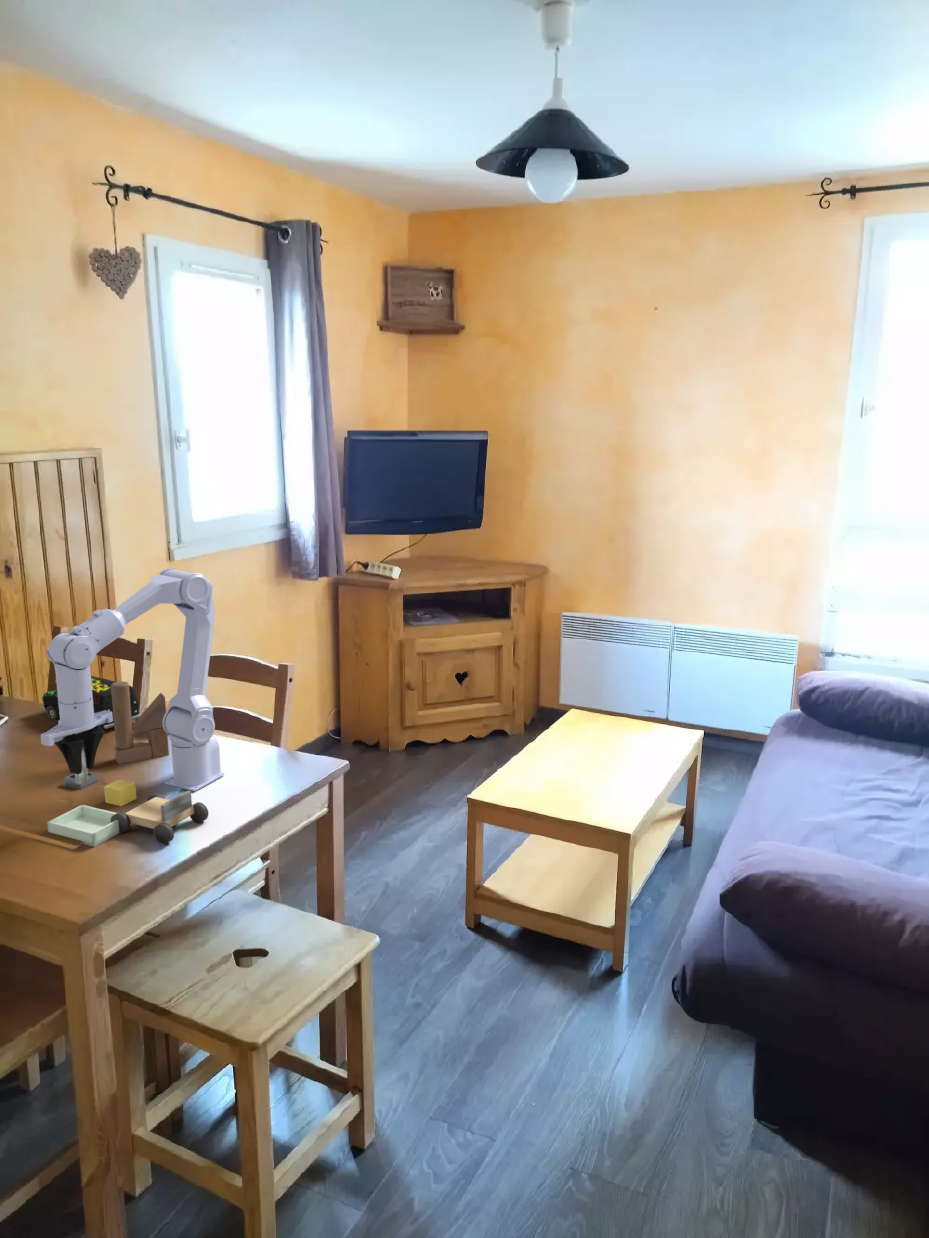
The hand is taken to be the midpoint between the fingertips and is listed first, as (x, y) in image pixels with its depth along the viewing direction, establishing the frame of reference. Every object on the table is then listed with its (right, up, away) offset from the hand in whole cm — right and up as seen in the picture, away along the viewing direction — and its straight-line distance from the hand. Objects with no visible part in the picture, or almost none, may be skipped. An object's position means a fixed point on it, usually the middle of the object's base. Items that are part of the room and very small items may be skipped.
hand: (82, 770), depth 163 cm
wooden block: (0, -3, +32) cm, 32 cm away
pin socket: (-8, -6, +18) cm, 21 cm away
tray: (+2, -11, -1) cm, 11 cm away
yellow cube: (+3, -8, +10) cm, 14 cm away
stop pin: (0, -2, +1) cm, 2 cm away
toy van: (-22, +3, +57) cm, 61 cm away
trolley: (+14, -11, +1) cm, 18 cm away
